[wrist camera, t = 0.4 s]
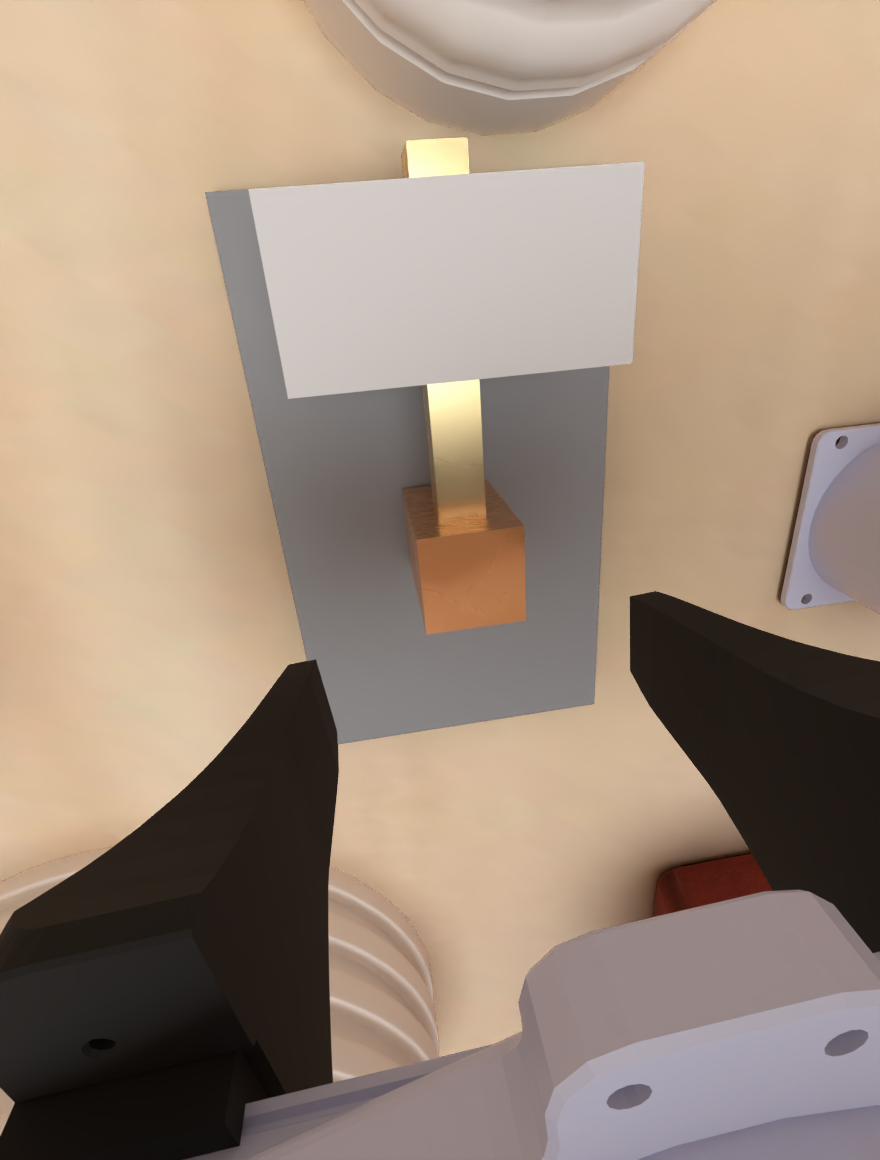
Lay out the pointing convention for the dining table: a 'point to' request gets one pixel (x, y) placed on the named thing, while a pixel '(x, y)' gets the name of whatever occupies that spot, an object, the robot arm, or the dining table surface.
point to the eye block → (397, 419)
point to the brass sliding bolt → (459, 485)
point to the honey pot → (500, 53)
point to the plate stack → (356, 972)
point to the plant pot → (708, 884)
